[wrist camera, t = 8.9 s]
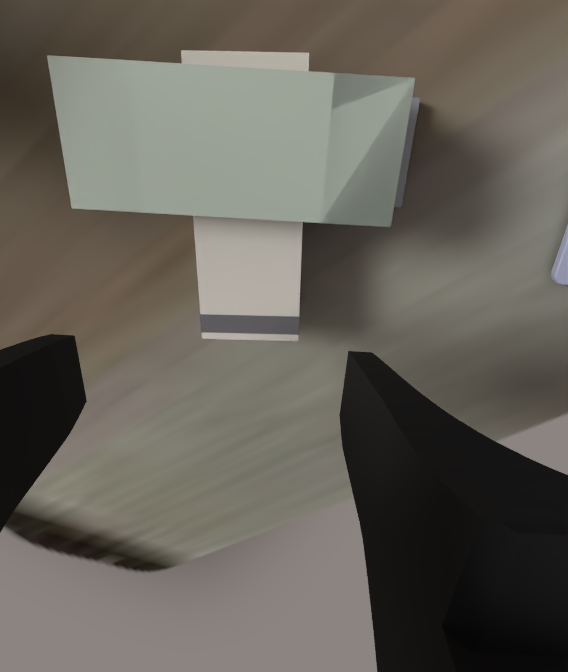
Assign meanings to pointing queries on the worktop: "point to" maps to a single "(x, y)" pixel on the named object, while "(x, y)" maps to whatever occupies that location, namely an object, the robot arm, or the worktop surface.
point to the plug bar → (248, 247)
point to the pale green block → (233, 140)
